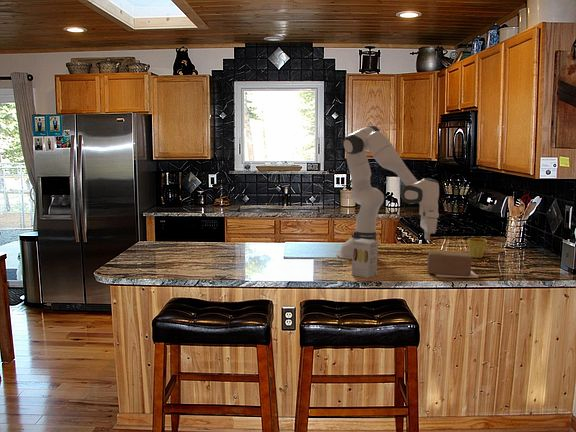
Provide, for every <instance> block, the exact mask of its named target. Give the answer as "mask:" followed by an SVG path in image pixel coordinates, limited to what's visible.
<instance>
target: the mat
mask: <svg viewBox="0 0 576 432" xmlns="http://www.w3.org/2000/svg"><path fill="white" fill-rule="evenodd" d="M434 275H435V276H436V277H439V278H440V277H444V278H466V279H467V278H470V279H471V278H472V279H473V278H474V279H478V278H479V276H478V275H477V274H476V273H475V272H474V271H473V270H471V275H470V276H457V275H442V274H434Z"/></svg>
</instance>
